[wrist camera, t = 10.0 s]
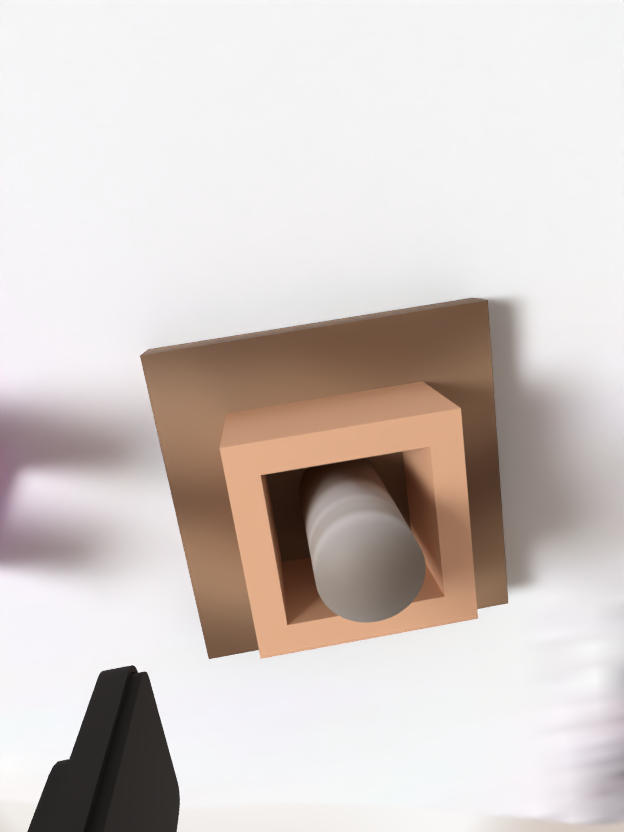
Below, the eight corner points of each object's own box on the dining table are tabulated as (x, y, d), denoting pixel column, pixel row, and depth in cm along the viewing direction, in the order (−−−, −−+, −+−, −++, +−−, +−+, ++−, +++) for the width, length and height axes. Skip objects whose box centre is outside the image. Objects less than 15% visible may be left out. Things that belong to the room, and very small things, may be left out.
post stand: (148, 349, 21) (91, 393, 14) (472, 298, 22) (580, 314, 14) (211, 635, 24) (192, 793, 17) (493, 583, 25) (591, 714, 18)
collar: (226, 413, 20) (219, 448, 16) (422, 381, 21) (460, 408, 17) (260, 590, 22) (260, 658, 18) (440, 557, 23) (477, 618, 19)
